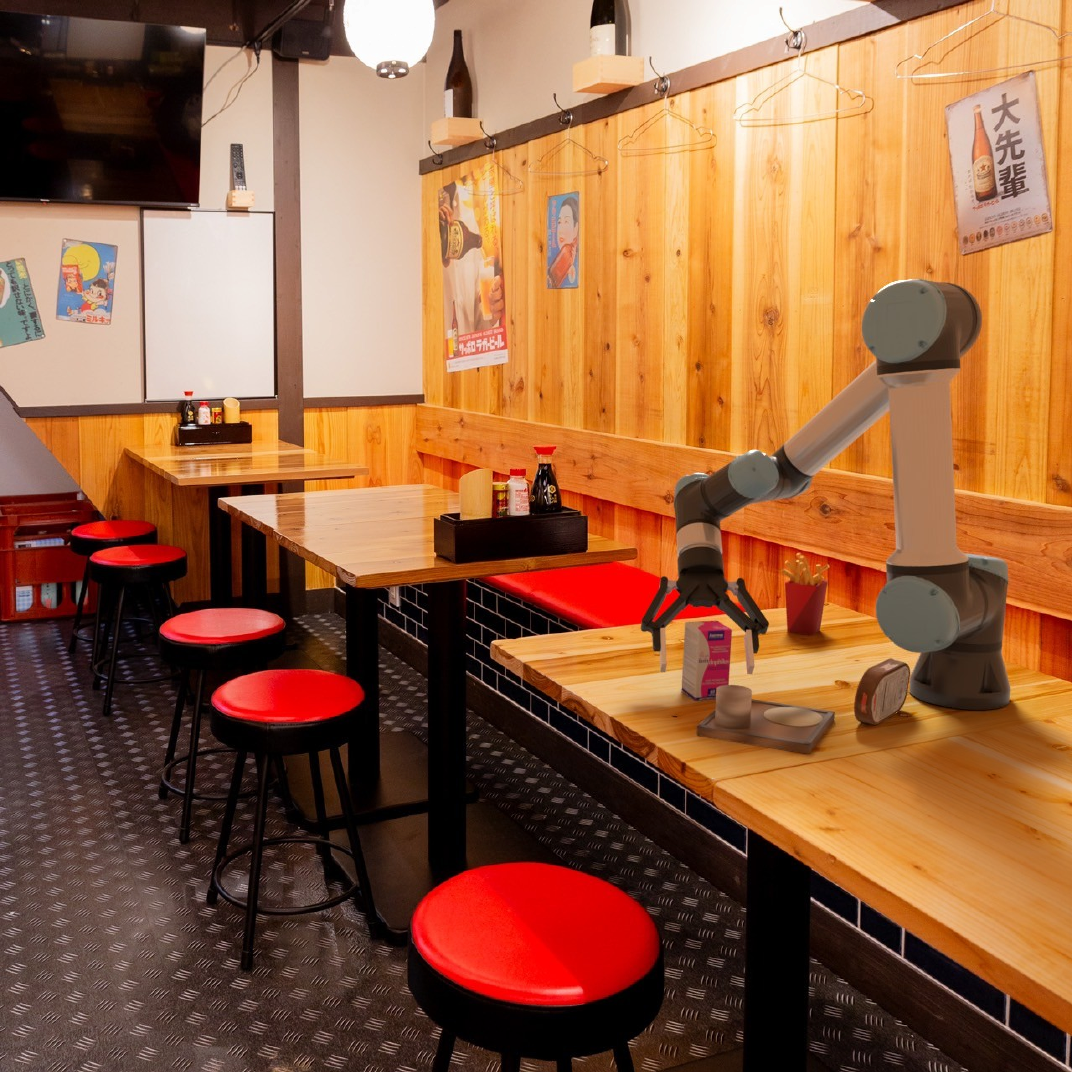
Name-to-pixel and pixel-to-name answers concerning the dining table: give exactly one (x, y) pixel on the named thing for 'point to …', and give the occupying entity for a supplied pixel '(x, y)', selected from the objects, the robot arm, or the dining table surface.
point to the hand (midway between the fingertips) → (707, 669)
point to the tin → (881, 691)
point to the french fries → (804, 596)
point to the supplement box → (705, 658)
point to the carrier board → (764, 721)
